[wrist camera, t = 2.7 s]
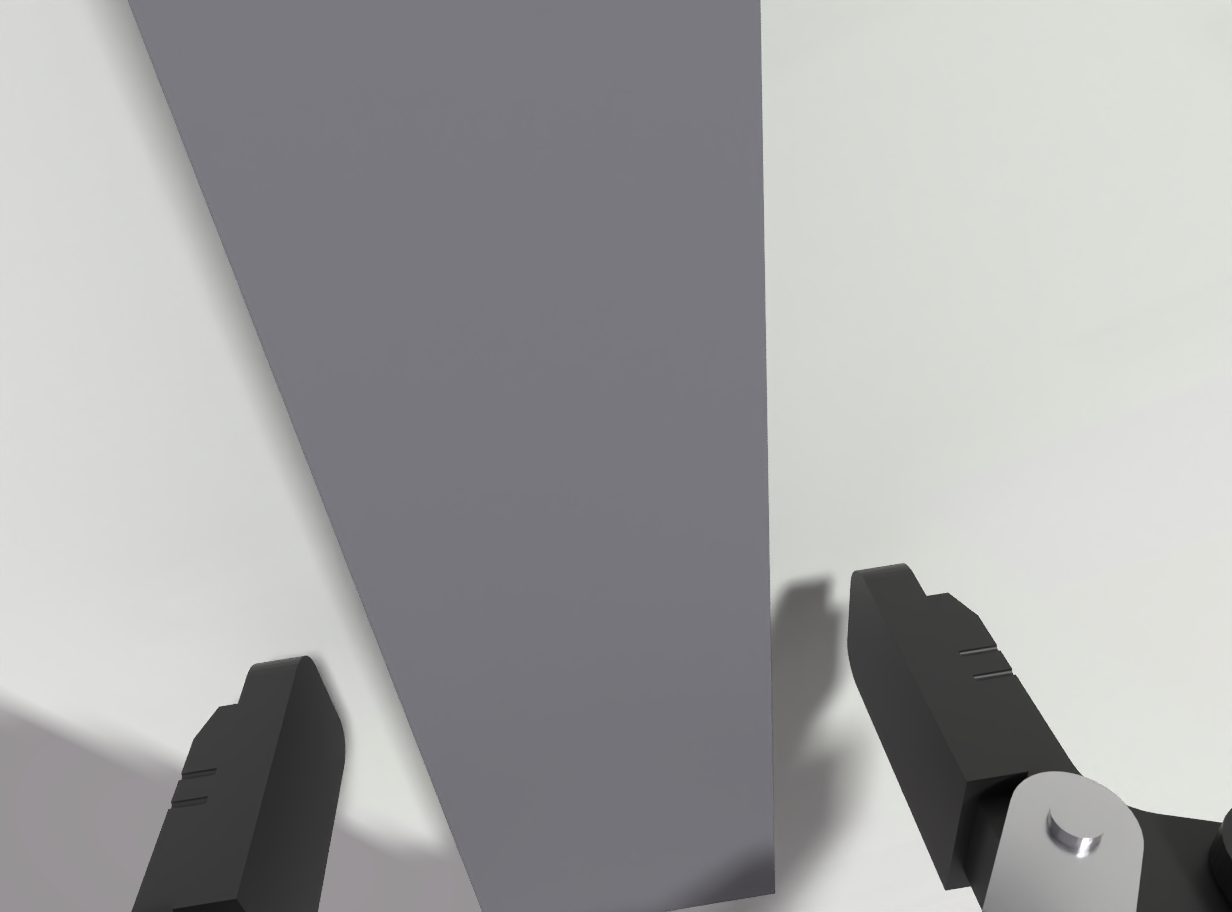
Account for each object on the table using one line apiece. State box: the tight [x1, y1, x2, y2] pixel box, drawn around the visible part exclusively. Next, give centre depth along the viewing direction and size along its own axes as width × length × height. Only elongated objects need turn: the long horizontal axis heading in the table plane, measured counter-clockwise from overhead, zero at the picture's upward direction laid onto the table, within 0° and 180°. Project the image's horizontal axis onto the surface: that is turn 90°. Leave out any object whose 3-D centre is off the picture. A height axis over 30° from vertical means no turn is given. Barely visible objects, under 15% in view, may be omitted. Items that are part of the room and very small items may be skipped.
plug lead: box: [128, 0, 775, 912], centre depth 9 cm, size 4×18×4 cm, turn 6°
